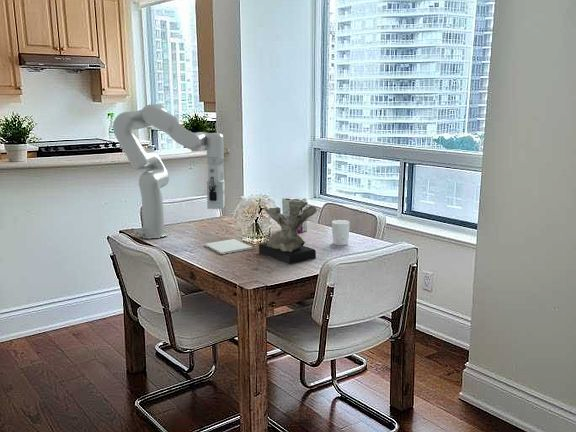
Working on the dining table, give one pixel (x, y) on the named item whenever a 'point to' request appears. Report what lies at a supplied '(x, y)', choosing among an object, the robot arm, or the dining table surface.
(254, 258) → the dining table surface
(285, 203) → the candy bar box
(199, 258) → the dining table surface
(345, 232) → the white cup
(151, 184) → the robot arm
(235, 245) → the tile
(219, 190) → the supplement box
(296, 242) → the coral
